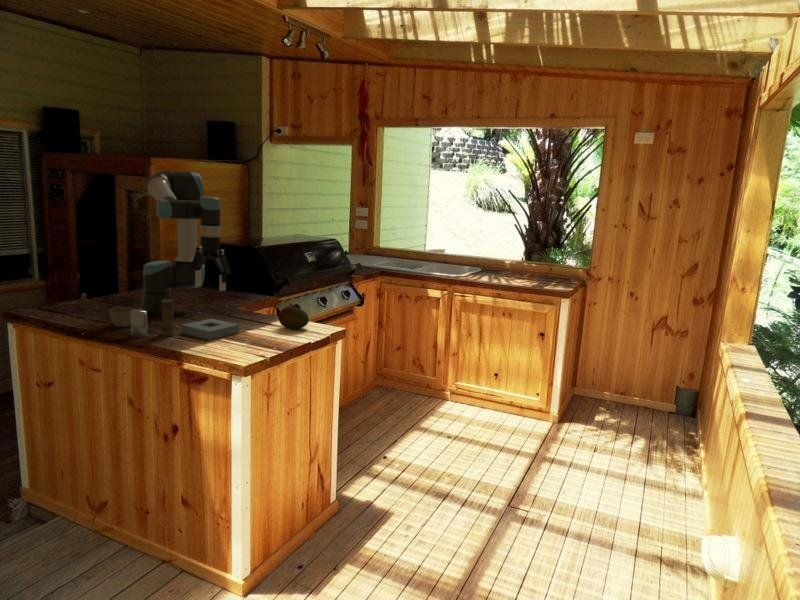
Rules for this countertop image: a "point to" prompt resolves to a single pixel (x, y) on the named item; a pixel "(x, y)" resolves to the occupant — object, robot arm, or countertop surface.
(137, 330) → the round bit
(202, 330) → the socket plate
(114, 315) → the flower pot
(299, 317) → the fruit
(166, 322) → the wooden square peg
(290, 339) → the countertop surface
